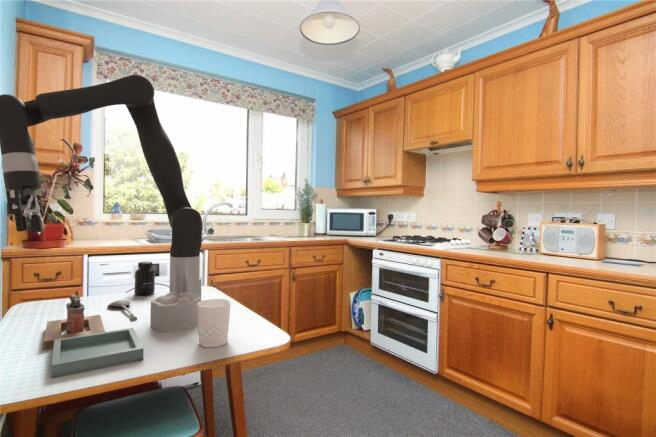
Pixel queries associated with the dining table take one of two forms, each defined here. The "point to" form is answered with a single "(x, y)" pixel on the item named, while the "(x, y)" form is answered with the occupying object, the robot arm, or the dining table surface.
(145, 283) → the supplement bottle
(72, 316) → the lighter
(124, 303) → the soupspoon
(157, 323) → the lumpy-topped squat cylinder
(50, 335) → the holder
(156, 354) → the dining table surface
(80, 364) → the tray
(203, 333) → the white cup
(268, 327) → the dining table surface
